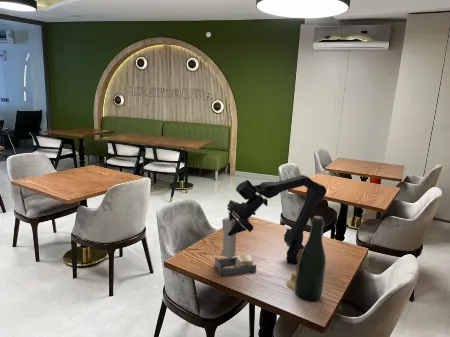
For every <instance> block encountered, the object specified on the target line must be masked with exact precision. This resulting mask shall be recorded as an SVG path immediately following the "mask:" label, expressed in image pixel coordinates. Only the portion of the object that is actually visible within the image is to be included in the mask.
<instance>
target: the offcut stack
mask: <svg viewBox="0 0 450 337" xmlns="http://www.w3.org/2000/svg"><path fill="white" fill-rule="evenodd" d="M235 257H236V264H235V267H241V266H249V265H254V260H253V258H252V257H251V256H250V254H243V255H235Z"/></svg>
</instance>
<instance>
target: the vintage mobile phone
mask: <svg viewBox="0 0 450 337" xmlns="http://www.w3.org/2000/svg"><path fill="white" fill-rule="evenodd" d="M232 201H233V200H232ZM232 201H231V202H232ZM229 213H230V218H229V216H228V217H225V218H223V219H222V221H221V223H222V232H223V240H222V244H223V245H222V250H221V252H220V255H221V256H223V257H225V258H229V259H230V258H234V257H236V246H237V245H236V244H237V233H236V234H234V235H231V236H229V235H228V233H229V232H230V230H231V229H232V228H233V226H234V225H235V221H236V220H235V219H232V210H230V211H229Z"/></svg>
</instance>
